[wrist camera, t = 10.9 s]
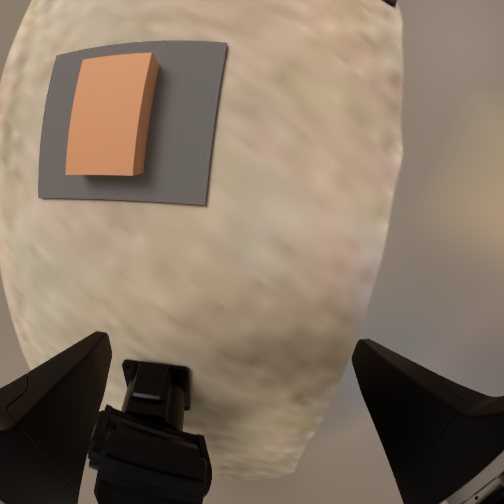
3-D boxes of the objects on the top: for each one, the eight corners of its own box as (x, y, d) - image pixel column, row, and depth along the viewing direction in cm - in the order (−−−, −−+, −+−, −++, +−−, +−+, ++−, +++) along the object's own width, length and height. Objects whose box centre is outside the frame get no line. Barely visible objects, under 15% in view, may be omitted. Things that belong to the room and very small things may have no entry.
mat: (205, 204, 19) (205, 205, 18) (41, 197, 17) (38, 198, 16) (227, 45, 15) (227, 42, 15) (58, 56, 13) (56, 55, 12)
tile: (159, 64, 15) (151, 52, 12) (143, 173, 17) (132, 175, 15) (96, 69, 14) (82, 59, 11) (82, 172, 16) (65, 174, 14)
